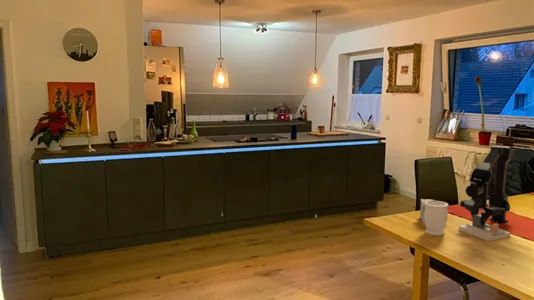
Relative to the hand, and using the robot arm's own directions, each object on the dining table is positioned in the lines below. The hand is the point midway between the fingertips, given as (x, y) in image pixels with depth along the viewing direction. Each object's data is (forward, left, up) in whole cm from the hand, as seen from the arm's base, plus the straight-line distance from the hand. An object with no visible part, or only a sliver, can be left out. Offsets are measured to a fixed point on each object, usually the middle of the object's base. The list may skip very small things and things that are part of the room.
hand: (478, 224), depth 202 cm
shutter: (0, +9, -1) cm, 9 cm away
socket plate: (0, +3, -3) cm, 5 cm away
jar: (+21, -7, -4) cm, 22 cm away
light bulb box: (+11, -22, -4) cm, 25 cm away
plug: (0, 0, -2) cm, 2 cm away
